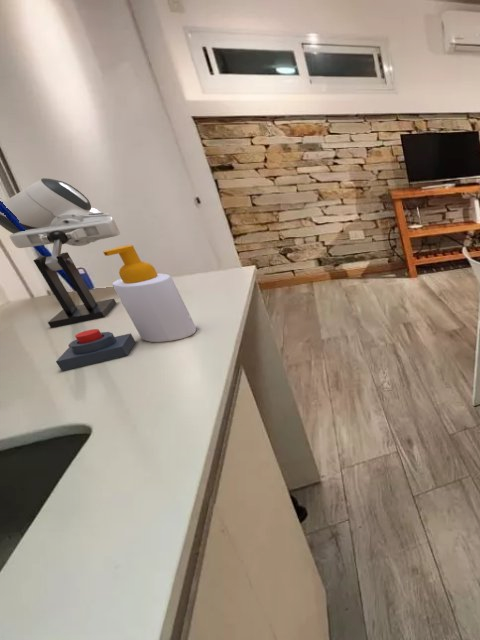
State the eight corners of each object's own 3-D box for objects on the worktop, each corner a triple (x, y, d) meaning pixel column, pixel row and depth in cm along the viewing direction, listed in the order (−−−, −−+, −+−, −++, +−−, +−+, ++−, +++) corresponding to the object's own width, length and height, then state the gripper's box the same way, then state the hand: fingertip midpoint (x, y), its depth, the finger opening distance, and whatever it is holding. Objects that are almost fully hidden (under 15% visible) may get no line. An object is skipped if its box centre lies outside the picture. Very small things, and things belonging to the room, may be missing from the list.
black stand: (67, 313, 125) (32, 255, 118) (116, 303, 130) (85, 247, 123) (50, 328, 116) (11, 266, 109) (104, 317, 120) (69, 257, 113)
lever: (54, 240, 124) (45, 229, 121) (72, 237, 125) (64, 226, 123) (49, 273, 116) (39, 262, 114) (69, 270, 118) (59, 259, 115)
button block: (61, 371, 94) (50, 353, 92) (75, 356, 100) (64, 339, 98) (127, 355, 98) (117, 338, 96) (135, 342, 104) (126, 325, 103)
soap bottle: (129, 340, 106) (80, 251, 97) (168, 324, 113) (125, 241, 104) (170, 344, 102) (122, 253, 93) (208, 328, 109) (167, 241, 100)
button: (77, 346, 95) (72, 338, 94) (82, 339, 98) (78, 332, 97) (100, 341, 97) (96, 333, 96) (105, 334, 100) (101, 327, 99)
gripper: (16, 224, 126) (-8, 233, 116) (116, 211, 136) (102, 218, 125) (30, 247, 129) (8, 258, 118) (127, 233, 138) (114, 242, 128)
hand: (57, 238), depth 122 cm, fingers closed on lever, 3 cm apart
